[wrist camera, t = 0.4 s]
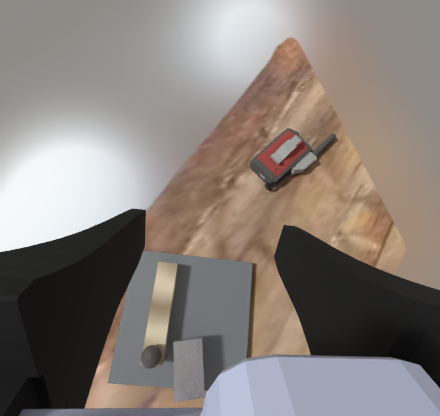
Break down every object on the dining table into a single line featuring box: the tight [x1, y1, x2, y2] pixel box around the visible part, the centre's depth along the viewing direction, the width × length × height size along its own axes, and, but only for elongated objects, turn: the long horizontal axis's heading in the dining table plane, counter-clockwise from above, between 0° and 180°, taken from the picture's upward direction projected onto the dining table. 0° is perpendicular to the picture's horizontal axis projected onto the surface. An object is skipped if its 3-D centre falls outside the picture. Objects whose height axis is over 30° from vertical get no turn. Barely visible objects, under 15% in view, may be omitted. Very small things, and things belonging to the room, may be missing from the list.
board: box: [108, 251, 252, 391], centre depth 35 cm, size 19×20×1 cm
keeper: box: [173, 337, 205, 402], centre depth 31 cm, size 4×7×4 cm, turn 4°
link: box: [140, 262, 179, 369], centre depth 32 cm, size 14×3×4 cm, turn 174°
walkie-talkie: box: [250, 128, 336, 190], centre depth 43 cm, size 9×4×20 cm
